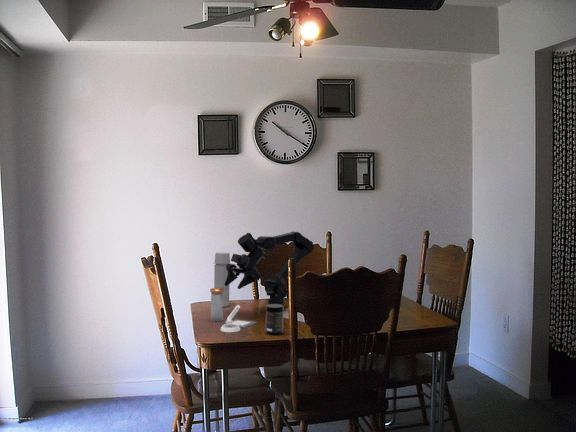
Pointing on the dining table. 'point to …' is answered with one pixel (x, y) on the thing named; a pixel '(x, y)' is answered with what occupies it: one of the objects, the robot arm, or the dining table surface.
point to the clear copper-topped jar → (216, 304)
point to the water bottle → (222, 274)
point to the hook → (231, 322)
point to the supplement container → (274, 319)
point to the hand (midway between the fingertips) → (231, 286)
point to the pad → (242, 323)
